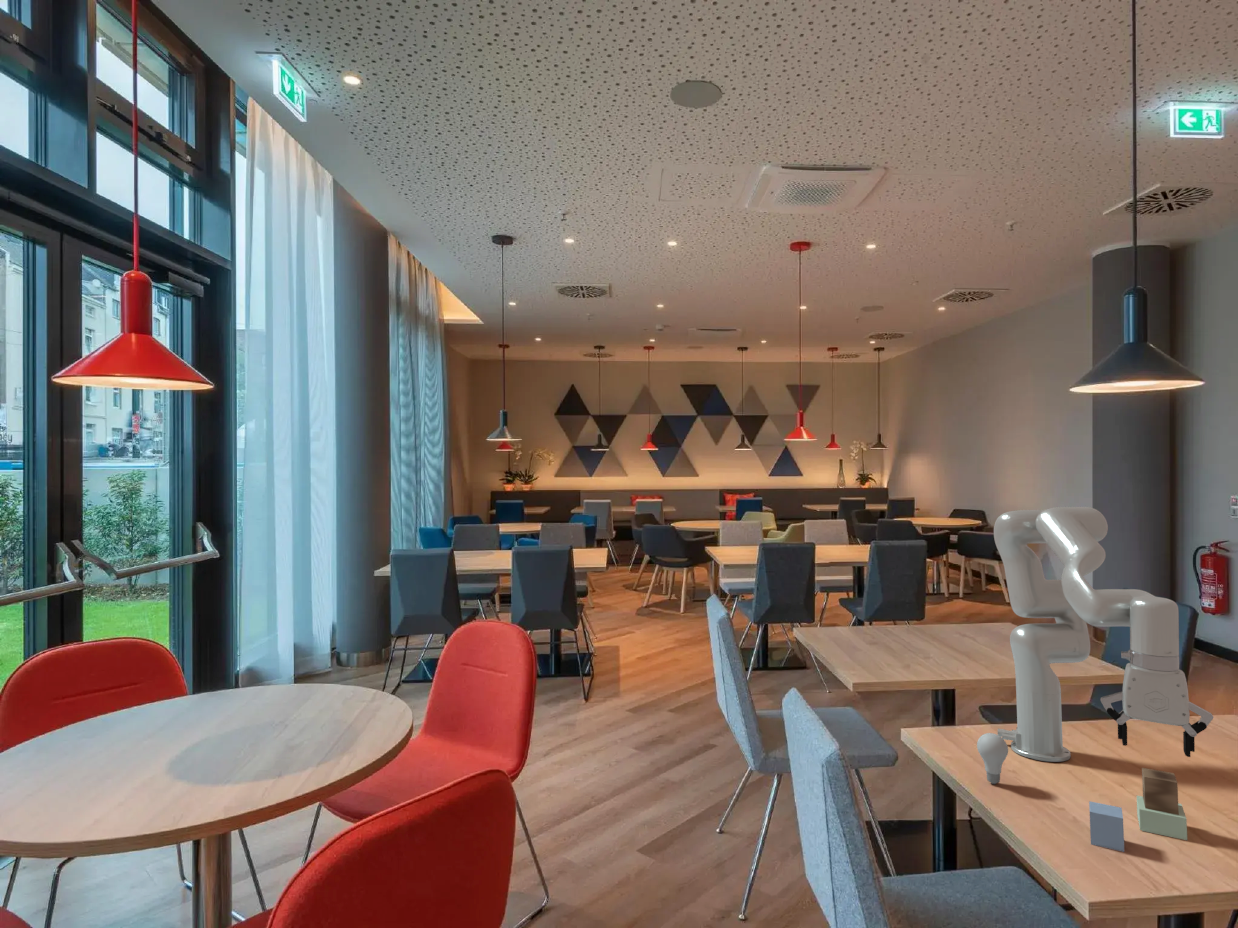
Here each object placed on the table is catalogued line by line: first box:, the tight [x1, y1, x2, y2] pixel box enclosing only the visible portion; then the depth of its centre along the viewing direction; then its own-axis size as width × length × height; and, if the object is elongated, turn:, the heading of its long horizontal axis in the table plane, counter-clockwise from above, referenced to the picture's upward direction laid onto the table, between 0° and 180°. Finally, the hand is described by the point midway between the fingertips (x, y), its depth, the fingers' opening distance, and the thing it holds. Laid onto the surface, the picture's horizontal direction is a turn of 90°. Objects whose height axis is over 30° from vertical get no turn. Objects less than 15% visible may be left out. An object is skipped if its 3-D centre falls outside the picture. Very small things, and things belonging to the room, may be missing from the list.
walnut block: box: [1141, 767, 1179, 815], centre depth 132 cm, size 5×5×6 cm
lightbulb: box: [976, 732, 1009, 785], centre depth 152 cm, size 6×6×11 cm
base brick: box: [1136, 795, 1188, 841], centre depth 132 cm, size 7×7×4 cm
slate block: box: [1088, 800, 1125, 853], centre depth 127 cm, size 5×5×6 cm
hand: (1155, 748), depth 133 cm, fingers open, 9 cm apart
